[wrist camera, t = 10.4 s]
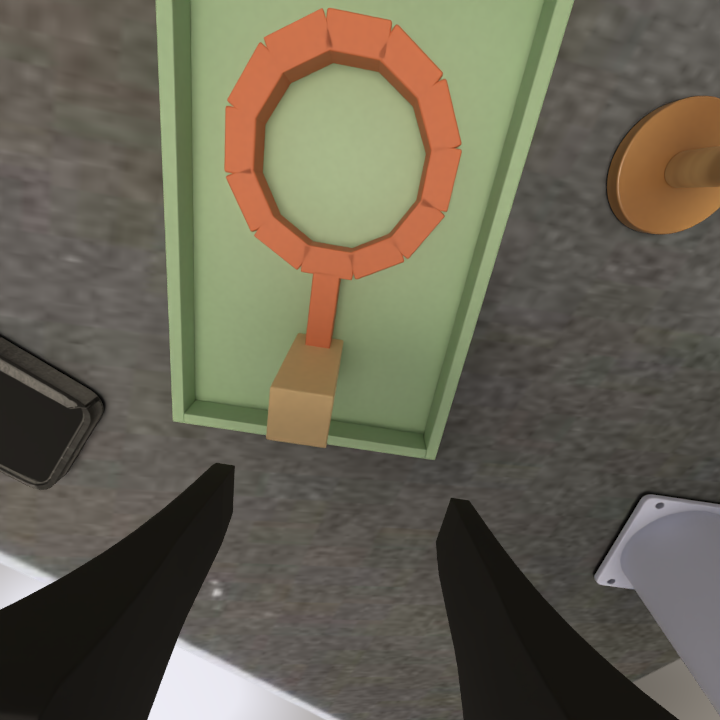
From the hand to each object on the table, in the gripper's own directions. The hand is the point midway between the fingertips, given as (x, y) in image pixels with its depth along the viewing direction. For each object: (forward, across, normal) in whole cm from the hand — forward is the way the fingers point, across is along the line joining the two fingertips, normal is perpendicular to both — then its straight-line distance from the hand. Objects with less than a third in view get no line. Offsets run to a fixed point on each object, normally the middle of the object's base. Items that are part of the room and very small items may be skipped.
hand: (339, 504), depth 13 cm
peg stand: (+9, -12, -12) cm, 20 cm away
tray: (+9, +2, -8) cm, 12 cm away
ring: (+9, +2, -8) cm, 12 cm away
